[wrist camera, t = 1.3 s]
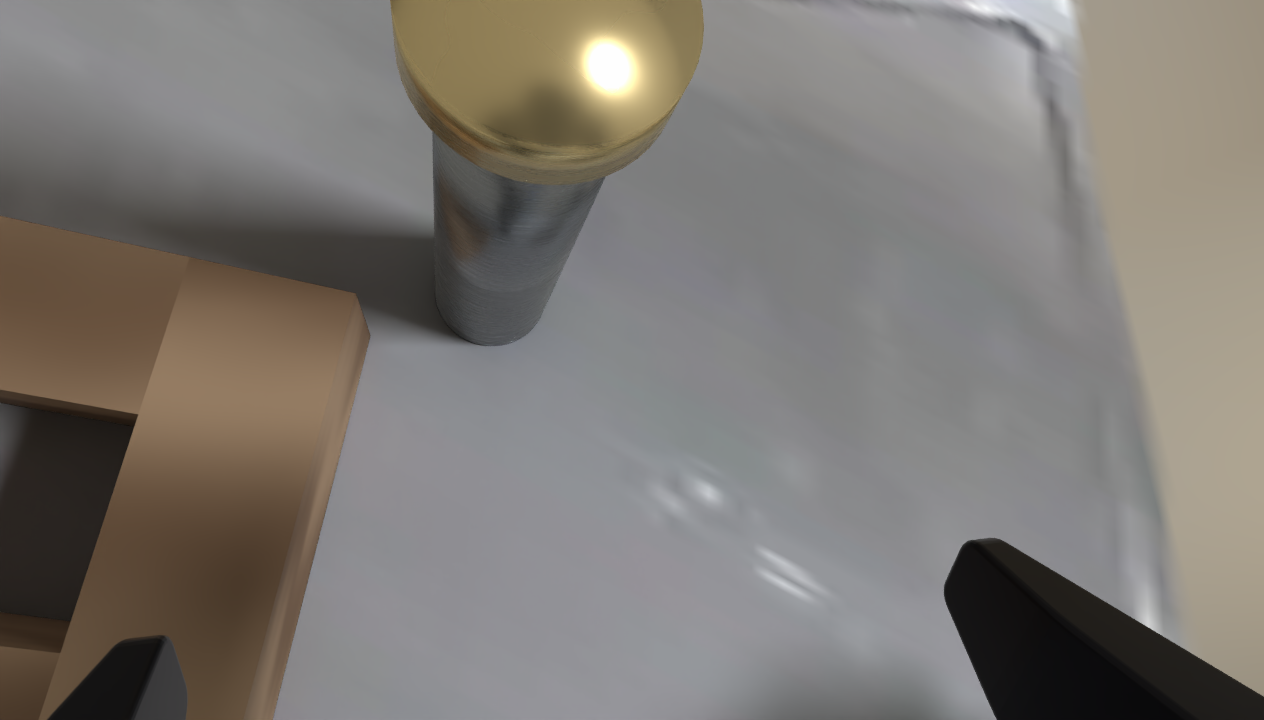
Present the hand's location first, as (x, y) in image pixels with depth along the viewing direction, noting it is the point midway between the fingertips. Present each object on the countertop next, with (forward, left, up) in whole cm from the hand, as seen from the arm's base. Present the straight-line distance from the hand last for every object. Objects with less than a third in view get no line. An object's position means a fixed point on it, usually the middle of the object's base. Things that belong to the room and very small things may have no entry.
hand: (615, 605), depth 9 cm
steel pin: (+8, +2, -13) cm, 15 cm away
